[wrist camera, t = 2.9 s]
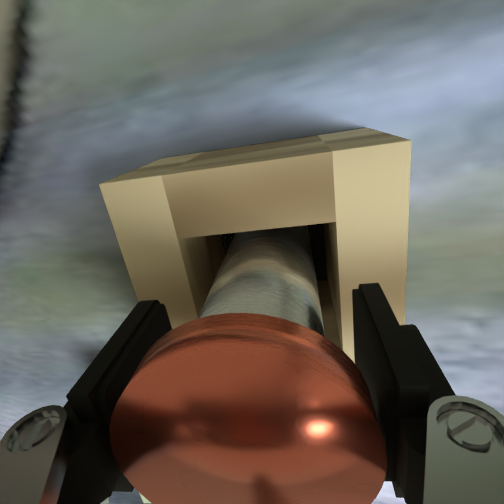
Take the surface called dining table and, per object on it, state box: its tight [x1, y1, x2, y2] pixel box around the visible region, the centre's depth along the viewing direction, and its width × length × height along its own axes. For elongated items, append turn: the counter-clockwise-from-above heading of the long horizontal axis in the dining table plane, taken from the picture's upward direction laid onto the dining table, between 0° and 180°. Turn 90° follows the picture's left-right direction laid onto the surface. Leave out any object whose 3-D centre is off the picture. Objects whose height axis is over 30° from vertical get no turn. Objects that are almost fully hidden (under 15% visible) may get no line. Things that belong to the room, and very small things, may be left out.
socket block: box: [99, 128, 411, 363], centre depth 15 cm, size 10×10×6 cm
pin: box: [110, 225, 387, 504], centre depth 12 cm, size 6×6×12 cm
